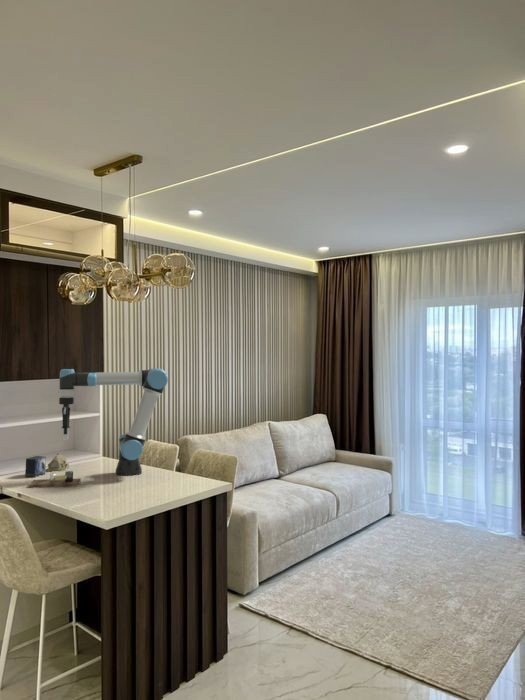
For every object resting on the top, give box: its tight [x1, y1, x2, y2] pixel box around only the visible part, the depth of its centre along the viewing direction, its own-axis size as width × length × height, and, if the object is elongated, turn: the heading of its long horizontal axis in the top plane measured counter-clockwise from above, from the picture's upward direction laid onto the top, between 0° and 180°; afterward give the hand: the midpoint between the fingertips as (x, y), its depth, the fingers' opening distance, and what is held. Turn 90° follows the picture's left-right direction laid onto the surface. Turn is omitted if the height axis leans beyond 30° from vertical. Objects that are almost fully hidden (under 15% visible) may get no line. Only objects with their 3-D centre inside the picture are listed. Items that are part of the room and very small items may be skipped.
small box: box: [24, 455, 47, 478], centre depth 307 cm, size 11×6×10 cm, turn 168°
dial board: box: [27, 478, 81, 488], centre depth 285 cm, size 24×13×2 cm, turn 102°
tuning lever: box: [49, 470, 74, 482], centre depth 283 cm, size 12×4×5 cm, turn 132°
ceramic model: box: [45, 453, 70, 472], centre depth 326 cm, size 14×11×10 cm
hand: (65, 439), depth 294 cm, fingers closed
